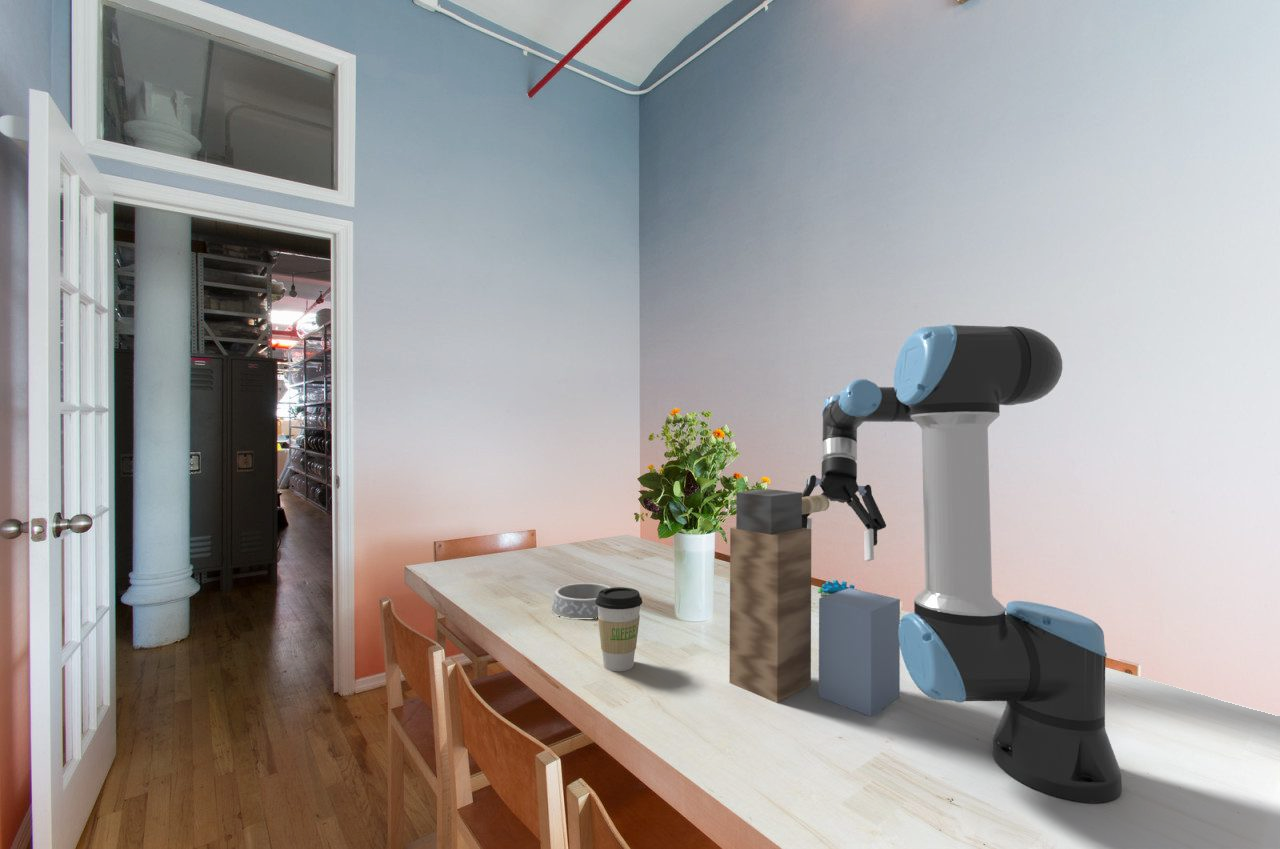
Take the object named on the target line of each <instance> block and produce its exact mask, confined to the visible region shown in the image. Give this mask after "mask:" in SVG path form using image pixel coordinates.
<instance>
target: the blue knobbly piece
mask: <svg viewBox="0 0 1280 849" xmlns="http://www.w3.org/2000/svg"><path fill="white" fill-rule="evenodd" d="M847 583H848V582H847V581H844V580H843V581H841V583H840V582H839V581H838V580H837V579H834V580H832V582H831V581H830V580H827V581H826V582H825V583H823V584H822V586H821V587H818V588H817V593H818V594H820V598H822V597H825V596H828V595H830V594H833V593H836V592H839V591H842V590H845V589H847V588H852V589H856V590H858V589H857V588H855V585H853V584H849V586H848V585H847Z"/></svg>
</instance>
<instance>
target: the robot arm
mask: <svg viewBox="0 0 1280 849" xmlns="http://www.w3.org/2000/svg"><path fill="white" fill-rule="evenodd" d="M893 371H894V373H893V387H891V386H889V387H888V386H878V384H876V383H875V382H873V381H870V380H868V379H866V378H858V379H855V380H853V381H851V382H850V383H849V384H847V386H846V387H844V388H843V390H841V392H840V393H839V394H833V395H831V396H828V397H827V398H826V399H825V400H824V402H823V408H822V414H821V415H822V443H821V445H822V446H821V447H822V448H821V451H822V452H821V459H822V462H821V478H819V477H817V476H816V475H815V474H812V475H811V476H810V477H808V478H807V479H806V486H805V488H804V490H803V491H802V492H801V493H802V497H807V496H811V495H812V492H813V491H814V489H815V488H816V487H818V486H819V487H820V488H821V490H822V493H821V494H820V495H825V496H826V497H827V498H828V500H829V502H837V503H841V504H844V503H846V504H847V506H849V507H850V508H851V509H852V511H853V512H854V513H855V515H856V516H857V518H859V520H860V522H862V524H863V525H864V527H865V528H866V530H864V531H863V533H864V534H863V537H864V538H863V540H864V544H863V546H864V547H863V548H864V549H863V551H864V553H863V554H864V559H863V560H864V562H870V561H873V560H874V559H875V557H874V556H875V555H874V554H875V552H874V550H875V546H877V545H878V531H880V530H882V529H885V528H886V527H887V524H886V521H885V520H884V518H883V515H882V514H881V510H880V509H879V506H878V504H877V502H876V501H875V498H874V496H873V494H872V493H873V492H872V486H871V485H870V484H866V485H858V482H857V479H858V463H857V460H858V428H859V427H861V425H862V424H863V423H865V422H868V423H869V422H870V423H871V422H872V423H873V422H876V423H877V422H878V423H881V422H882V423H890V422H891V423H893V422H895V423H896V422H897V423H898V422H902V423H903V422H904V423H905V422H906V423H908V422H909V423H916V424H917V425H918V426H919V427H920V429H921V444H922V448H921V450H922V453H921V454H922V458H921V459H922V494H923V496H922V498H923V504H922V505H923V536H924V537H923V544H924V545H923V546H924V549H923V550H924V589H923V590H922V591H921V592H919V593H918V594H917V595H916V596H915V597H914V598H913V599H914V600H913V602H914V603H913V605H914V607H913V608H914V610H913V611H914V613H913V612H909V613H907V614H904V615H902V617H900V624H899V629H898V636H899V644H900V654H901V657H902V659H903V660H902V661H903V663H904V665H905V667H906V670H907V671H908V674H909V676H910V678H911V679H912V681H913V683H914V685H916V687H917V688H918V690H920V691H921V692H922V693H923V695H925V696H927V697H929V698H930V699H933V700H938V701H949V702H950V701H951V702H955V703H959V704H960V703H964V702H1006V705H1005V708H1004V710H1003V713H1002V714H1001V717H1000V719H999V722H998V724H997V727H996V729H995V732H994V734H993V737H992V756H993V757H992V758H993V760H994V762H995V763H996V764H997V765H998V767H999V768H1000V769H1001V770H1002V771H1004V772H1005V773H1006V774H1007V775H1009V776H1011V778H1013V779H1015V780H1017V781H1019V782H1021V783H1022V784H1024V785H1026V786H1028V787H1030V788H1032V789H1035V790H1037V791H1040V792H1042V793H1044V794H1048V795H1050V796H1054V797H1057V798H1061V799H1066V800H1069V801H1076V802H1080V803H1081V802H1082V803H1094V804H1095V803H1096V804H1097V803H1098V804H1099V803H1106V802H1111V801H1113V800H1117V798H1119V796H1121V795H1122V788H1123V787H1122V772H1121V768H1120V765H1119V763H1118V761H1117V758H1116V755H1115V753H1114V750H1113V747H1112V743H1111V741H1110V739H1109V736H1108V734H1107V730H1106V659H1107V657H1108V654H1107V652H1106V647H1105V646H1106V645H1105V633H1104V631H1103V629H1102V627H1101V626H1100V625H1099V623H1097V622H1095V621H1094V620H1092V619H1091V618H1089V617H1086V616H1084V615H1082V614H1079V613H1075V612H1074V611H1073V612H1072V611H1070V610H1066V609H1063V608H1060V607H1055V606H1052V605H1046V604H1043V603H1038V602H1033V601H1023V600H1011V601H1009V602H1007V604H1006V606H1004V605H1003V604H1002V603H1001V602H1000V601H999V600H998V599H997V598H996V597H995V596H994V595H993V576H992V574H993V573H992V539H991V538H992V536H991V507H990V506H991V501H990V500H991V498H990V497H991V496H990V494H991V493H990V466H989V465H990V464H989V458H990V457H989V432H988V430H989V429H988V428H989V426H991V424H992V423H994V422H995V420H996V419H998V418H999V417H1000V413H1001V411H1000V405H1001V406H1014V405H1015V406H1016V405H1021V404H1027V403H1031V402H1035V401H1037V400H1039V399H1042V398H1044V397H1046V396H1047V395H1048V394H1049V393H1050V392H1051V391H1052V390H1053V389H1054V388H1055V387H1056V386H1057V385H1058V382H1060V381H1059V380H1060V379H1061V377H1062V372H1063V359H1062V355H1061V352H1060V350H1059V348H1058V347H1057V345H1056V344H1055V343H1054V341H1053V340H1051V339H1050V338H1049V337H1048V336H1047V335H1045V334H1043V333H1042V332H1039V331H1038V330H1036V329H1032V328H1029V327H1024V326H1012V325H1009V326H988V325H987V326H985V325H959V324H958V325H957V324H955V325H953V324H945V325H936V326H924V327H921V328H918V329H917V330H915V331H914V332H912V333H911V334H910V335H909V336H908V337H907V338H906V340H905V341H904V342H903V345H902V347H901V348H900V351H899V353H898V356H897V359H896V362H895V366H894V370H893ZM857 492H858V494H859V496H861V500H862V501H860V497H859V496H858V495H857ZM861 502H863V503H861ZM863 504H864V505H863ZM811 514H812V513H808V514H802V528H807V529H811V530H812V522H813V518H811V517H809V516H811Z"/></svg>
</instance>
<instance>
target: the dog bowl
mask: <svg viewBox="0 0 1280 849" xmlns="http://www.w3.org/2000/svg"><path fill="white" fill-rule="evenodd" d="M607 588H612V587H611V586H609V585H606V584H603V583H602V584H601V583H595V582H580V583H578V582H577V583H570V584H566V585H563V586H560V587H558V588H557V589H556V590H555V592H554V596H553V600H552V605H551V608H552V611H553V612H554V613H555V614H557V615H560V616H564V617H569V618H596V617H598V615H599V614H598V605H596V603H595V601H596V598H597V597H598V594H599V591H601V590H603V589H607Z"/></svg>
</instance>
